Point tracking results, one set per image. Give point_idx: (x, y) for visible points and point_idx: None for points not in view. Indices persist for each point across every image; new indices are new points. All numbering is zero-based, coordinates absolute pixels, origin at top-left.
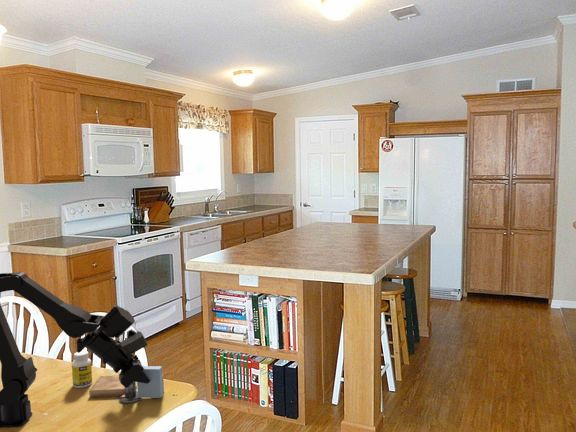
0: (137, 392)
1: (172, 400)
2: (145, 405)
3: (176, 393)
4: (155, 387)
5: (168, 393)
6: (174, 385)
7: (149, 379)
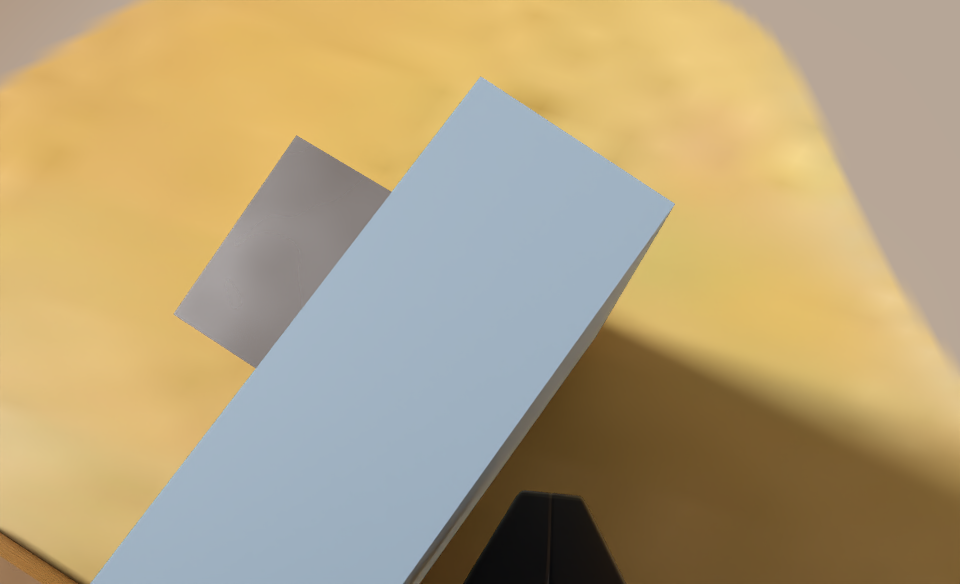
0: None
1: None
2: None
3: None
4: (557, 385)
5: None
6: (235, 44)
7: (589, 518)
